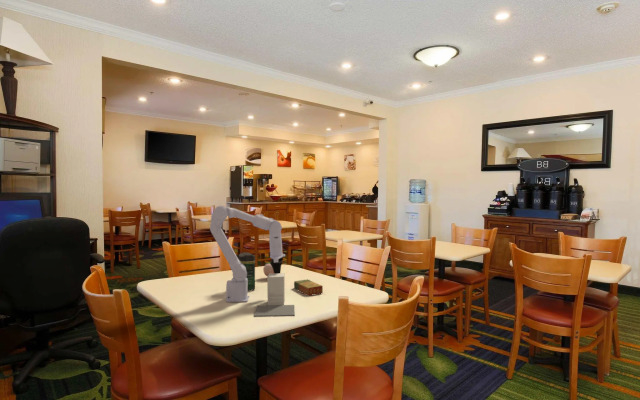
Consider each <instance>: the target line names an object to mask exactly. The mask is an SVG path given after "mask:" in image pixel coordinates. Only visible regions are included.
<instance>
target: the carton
mask: <svg viewBox="0 0 640 400" xmlns="http://www.w3.org/2000/svg"><path fill="white" fill-rule="evenodd" d="M293 286H294V287H293V288H294V289H295V290H297V291H298V290H299V291H298V292H300V291H301V293H302V292H303V293H302V294H304V293H305V294H304V295H306V294H307V295H306V296H308V295H309V296H313V295H312V294H316V295H320V294H319V293H322V294H323V292H324V290H323V285H322V284H319V283H316V282H314V281H312V280H310V279H301V280H294V282H293Z"/></svg>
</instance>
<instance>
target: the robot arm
mask: <svg viewBox="0 0 640 400" xmlns="http://www.w3.org/2000/svg"><path fill="white" fill-rule="evenodd" d="M227 218H228V219H232V218H237V219H240V220H244V221H246V222H250V223H251V224H252V226H253V227H256V228H257V229H261V230H265V231H269V236H268V240H269V255H270V256H269V258H270V259H271V261H272V262H271V261H269V262H270V264H271V266H272V268H273V271H274V273H281V270H282V265H283V263H284V262H283V259H284V257H286V254H285V253H283V242H282V241H283V240H282V239H283V238H282V230H283V227H282V224H281V222H280V221H278V220H276V219H274V218H272V217H267V216H264V214H263V213H260V214H255V215H253V214H249V213H247V212H245V211H242V210H240V209H237V208H235V207H229V206H228V207H226V206H224V205H218V206H216V207H215V208H214V209H213V212H212V213H211V216H210V225H209V231H210V232H211V235H212V236H213V238H214V239H215V241H216V243H217V245H218V247H219V249H220V250H221V253H222V255H223V256H224V257H225V259H226V261H227V263H228V265H229V268H230V270H231V272H232V278H231V280H227V281H226V284H225V286H226V287H225V294H226V295H225V303H235V302H236V303H239V302H242V303H243V302H246V303H247V302H248V301H249V298H250V295H249V294H248V292H249V291H248V279H247V278H246V277H247V271H246V267H245V266H244V265H243V264H241V262H240V261H239V259H238V256H237V254H236V253H235V251H234V248H233V247H232V245H231V243H230V241H229V240H228V238H227V236H226V234H225V232H224V230H223V229H222V227H223V224H224V222H225V221H226V219H227Z"/></svg>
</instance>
